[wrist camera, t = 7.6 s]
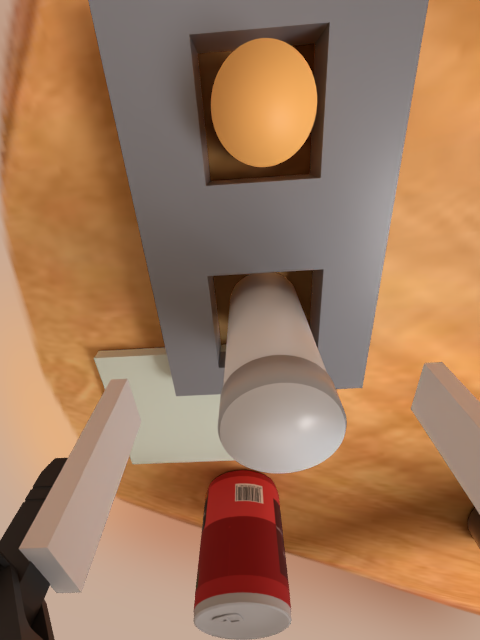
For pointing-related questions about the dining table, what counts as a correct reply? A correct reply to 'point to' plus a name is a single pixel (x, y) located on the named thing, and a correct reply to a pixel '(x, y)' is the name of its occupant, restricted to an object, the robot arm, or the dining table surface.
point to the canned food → (242, 560)
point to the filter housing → (263, 192)
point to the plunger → (264, 102)
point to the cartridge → (275, 382)
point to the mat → (164, 409)
